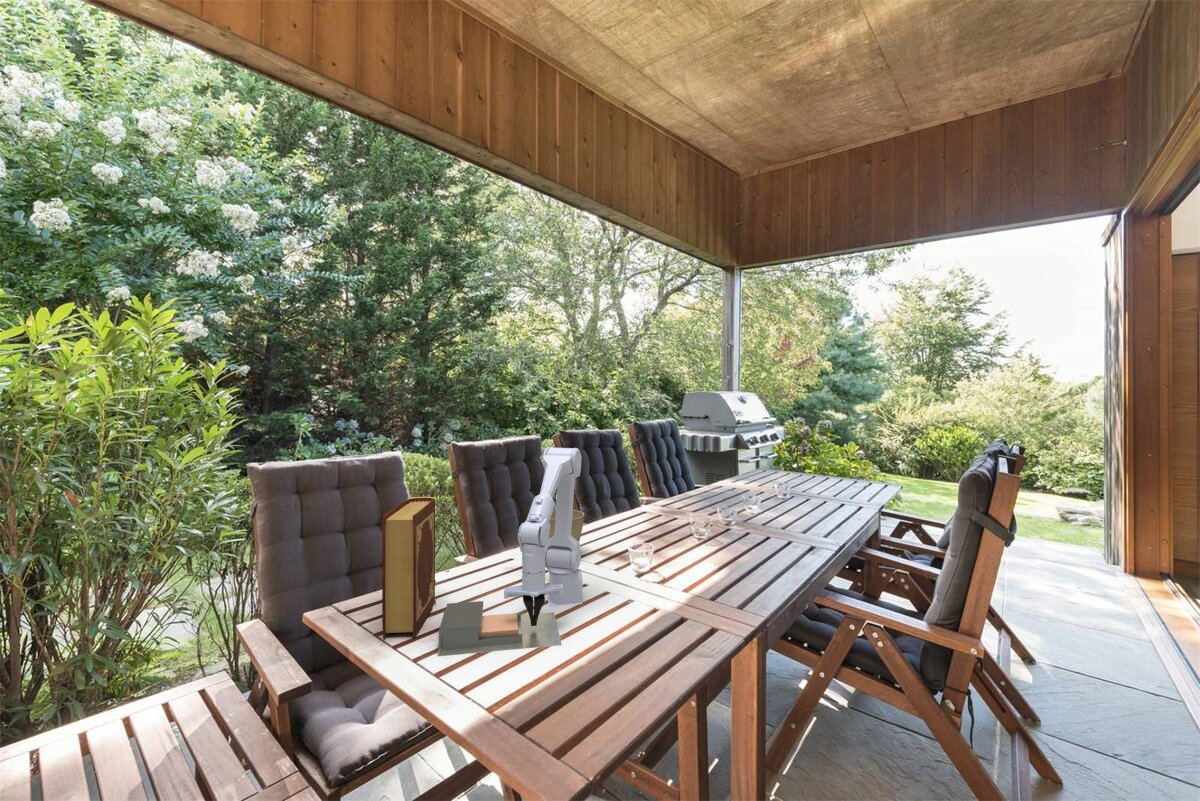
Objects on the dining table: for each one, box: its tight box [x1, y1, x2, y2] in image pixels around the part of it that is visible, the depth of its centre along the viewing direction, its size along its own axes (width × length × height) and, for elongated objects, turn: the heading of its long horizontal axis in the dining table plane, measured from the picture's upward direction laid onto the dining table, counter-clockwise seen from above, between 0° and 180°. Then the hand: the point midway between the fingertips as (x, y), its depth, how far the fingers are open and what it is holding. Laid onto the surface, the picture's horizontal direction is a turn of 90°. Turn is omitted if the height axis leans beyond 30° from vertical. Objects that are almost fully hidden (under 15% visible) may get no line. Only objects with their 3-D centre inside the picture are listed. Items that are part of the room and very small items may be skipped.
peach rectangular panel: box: [479, 612, 518, 638], centre depth 122 cm, size 16×9×2 cm, turn 101°
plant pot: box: [548, 509, 585, 548], centre depth 181 cm, size 15×15×16 cm
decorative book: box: [381, 496, 437, 641], centre depth 131 cm, size 22×8×30 cm, turn 5°
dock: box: [436, 600, 562, 657], centre depth 123 cm, size 28×18×6 cm, turn 101°
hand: (533, 624), depth 124 cm, fingers closed
